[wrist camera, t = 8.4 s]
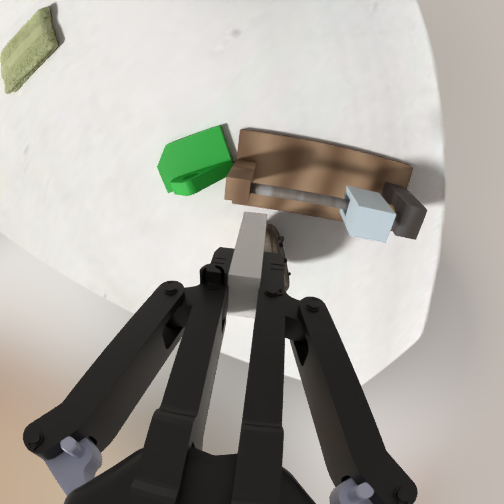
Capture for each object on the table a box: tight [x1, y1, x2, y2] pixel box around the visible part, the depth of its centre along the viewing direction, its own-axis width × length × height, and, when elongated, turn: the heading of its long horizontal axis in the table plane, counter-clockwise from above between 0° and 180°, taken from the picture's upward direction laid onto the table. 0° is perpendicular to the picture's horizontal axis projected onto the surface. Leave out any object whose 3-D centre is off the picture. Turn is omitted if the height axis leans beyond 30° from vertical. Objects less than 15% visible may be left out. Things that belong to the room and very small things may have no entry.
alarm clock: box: [264, 224, 291, 292], centre depth 43 cm, size 11×5×16 cm, turn 16°
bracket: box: [157, 125, 234, 196], centre depth 41 cm, size 12×8×7 cm, turn 107°
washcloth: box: [0, 7, 58, 94], centre depth 30 cm, size 13×18×3 cm
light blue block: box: [340, 186, 396, 243], centre depth 35 cm, size 5×4×7 cm
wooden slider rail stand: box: [224, 129, 427, 240], centre depth 39 cm, size 28×12×10 cm, turn 83°
